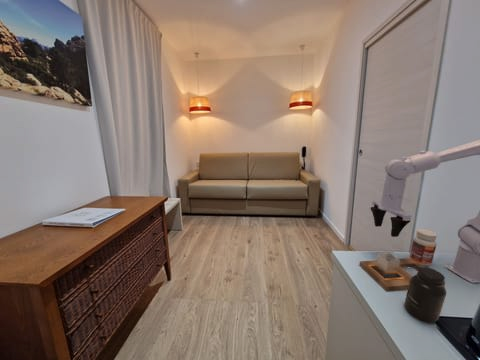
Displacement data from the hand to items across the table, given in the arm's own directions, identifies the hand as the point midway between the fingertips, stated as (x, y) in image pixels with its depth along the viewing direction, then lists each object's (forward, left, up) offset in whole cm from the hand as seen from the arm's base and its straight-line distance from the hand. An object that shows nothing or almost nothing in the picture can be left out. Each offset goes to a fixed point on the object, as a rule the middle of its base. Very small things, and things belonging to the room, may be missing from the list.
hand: (385, 230), depth 76 cm
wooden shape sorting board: (+2, +10, -10) cm, 15 cm away
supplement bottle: (+9, +24, -11) cm, 27 cm away
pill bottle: (-12, +4, -11) cm, 17 cm away
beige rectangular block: (+7, +10, -10) cm, 16 cm away
